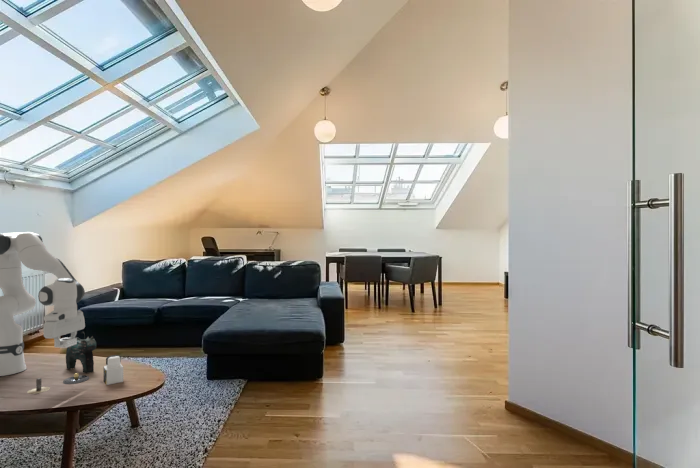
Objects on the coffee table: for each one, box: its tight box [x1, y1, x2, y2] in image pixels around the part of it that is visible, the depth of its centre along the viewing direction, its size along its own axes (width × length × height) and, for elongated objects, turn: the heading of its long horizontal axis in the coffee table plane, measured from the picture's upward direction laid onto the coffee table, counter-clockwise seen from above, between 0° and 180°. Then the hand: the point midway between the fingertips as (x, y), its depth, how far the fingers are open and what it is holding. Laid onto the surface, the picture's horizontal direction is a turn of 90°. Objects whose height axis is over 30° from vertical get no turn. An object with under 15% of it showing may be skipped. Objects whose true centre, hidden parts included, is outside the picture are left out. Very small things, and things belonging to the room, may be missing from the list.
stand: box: [26, 377, 51, 395], centre depth 176 cm, size 8×8×6 cm
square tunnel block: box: [53, 337, 78, 349], centre depth 185 cm, size 6×6×3 cm
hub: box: [62, 372, 90, 385], centre depth 188 cm, size 10×10×4 cm
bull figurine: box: [65, 331, 97, 374], centre depth 205 cm, size 20×6×20 cm, turn 64°
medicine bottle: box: [103, 354, 124, 386], centre depth 189 cm, size 7×7×12 cm
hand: (65, 343), depth 185 cm, fingers closed on square tunnel block, 6 cm apart
